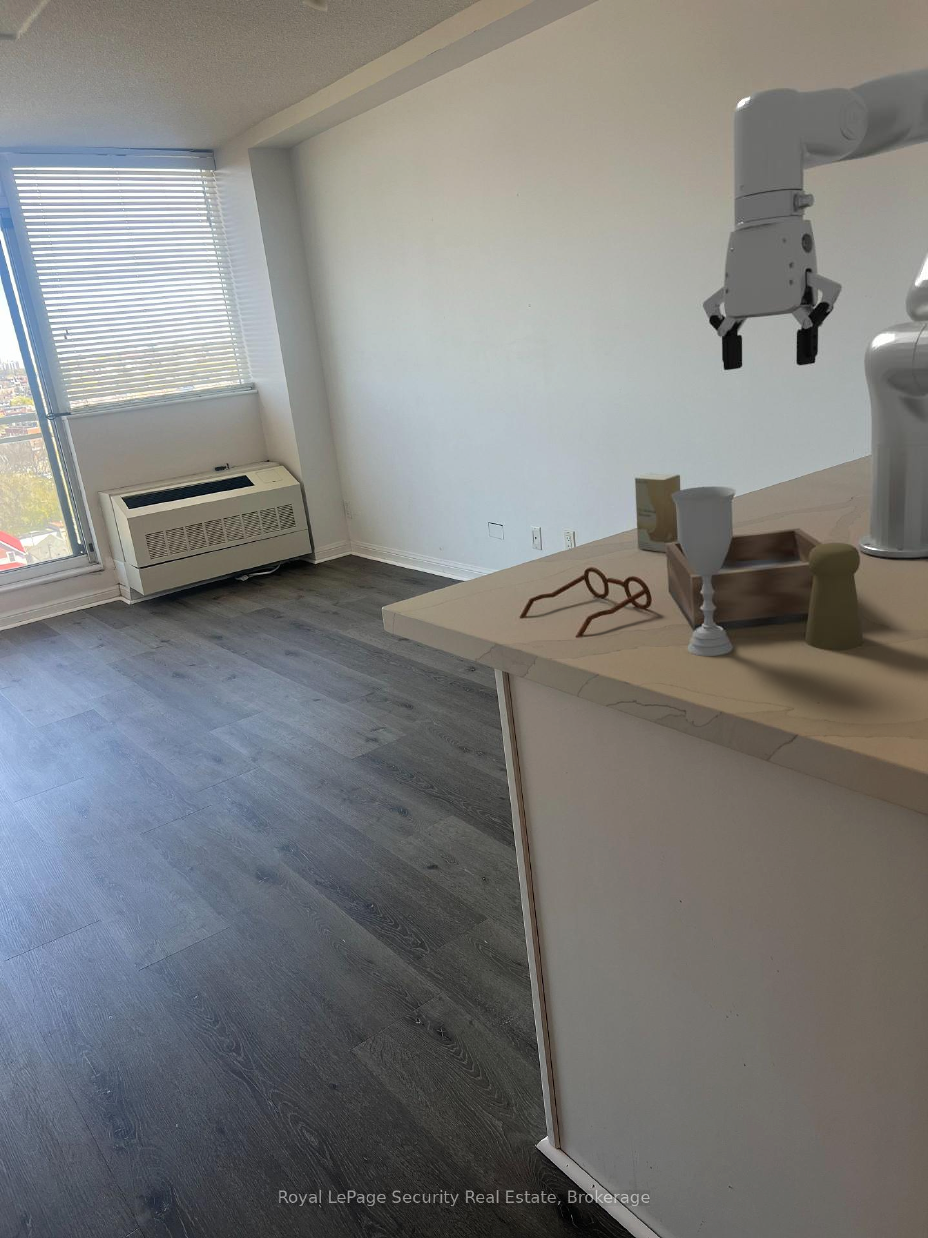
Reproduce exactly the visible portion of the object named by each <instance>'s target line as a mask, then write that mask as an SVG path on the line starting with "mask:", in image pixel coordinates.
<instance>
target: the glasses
mask: <svg viewBox="0 0 928 1238" xmlns="http://www.w3.org/2000/svg"><path fill="white" fill-rule="evenodd" d="M590 572H591V573H594V574H596V575H597V576H598V577H599V578H600V579H601V581H602V584H603V587H604V593H600V592H597V591H596V590H595V589H594V588H593V586H592V584H591V582H590V579H589V578H590V577H589V574H590ZM583 573H584V574H583V575H580V576H579V577H577V578H575V579H573V580H572V581H569V582H568V583H566V584H565V585H563V586H561V587H559V588H557V589H556V590H554V591H553V592H550V593H543V594H542V593H541V594H538V595H536V596H533V597H532V598H529V599H528V601H527V603H526V605H525V607H524V608H523V610H522V612H521V614H520V616H519V617H518V618H519V619H523V618H526V616H527V614H528V613H529V612H530V609H531V608H532V606H533V604H534V602H537V601H539V600H542V599H550V598H555V597H557V596H559V595H560V594H562V593H564V592H565V591H567V590H569V589H571V588H573V587H574V586H576V585H578V584H579V583H581V582H583V581H584V583H585V585H586V588H587V589H588V591H589V592H590V593H591V595H593V596H594V597H596V598H599V599H605V598H606V597H607V598H608V596H609V594H610V588H609V587H610V586H609V584H614V585H618V586H621V587H622V588H623V589H624V593H625V595H626V599H624V600H623V601H621V602H619V603H617V604H616V605H614V606H612V607H611V608H609V609H604V610H599V611H597V612H594V613H592V614H590V615H587V617H586V618H585V620H584V622H583V623H582V626H580V628H579V630H578V632H577V633H576V635H575V638H580V637H582V636H583V635H584V634H585V632H586V630H587V629H588V627H589V626H590V624H591V623H592V620H594V619H597V618H599V617H602V616H607V615H608V616H609V615H612V614H614V613H616V612H618V611H619V610H621V609H623V608H624V607H626V606H628V605H629V604H631V605H632V606H634V607H635V608H637V609H641V610H646V609H648V608H650V607H651V606H652V601H653V600H652V595H651V592H650V589H649V587H648V585H647V583H646V582H645V581H644V580H642V579H641V578H639V577H638V576H633V575H632V576H628V577H626V579H625V580H624V581H623V580H622V579H619V578H618V579H617V578H614V577H608V578H607V577H606V575H605V574H604V573H603V572H602V571H601V570H600V569H598V568H596V567H593V566H592V567H591V566H590V567H588V568H586V569H585V570H584V571H583ZM630 582H635V583H637V584H639V585H640V586H641V588H642V589H640V590H639V591H638V592H636V593H634V594H631V591H630ZM644 595H645V596H646V601H645V603H643V604H642V603H639V602H638V601H637V600H638V599H639V598H642V596H644ZM583 637H584V636H583Z"/></svg>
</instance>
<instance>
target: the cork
mask: <svg viewBox="0 0 928 1238" xmlns="http://www.w3.org/2000/svg"><path fill="white" fill-rule="evenodd" d="M860 562H861V556H860V554H859V551H858V549H857V547H855V546H853V545H852V544H849V543H844V542H827V543H822V544H821V545H818V546H816V547H814V548H813V549H812V550H811V552H810V554H809V568H810V571H811V572H812V573H813V574H814V578H813V586H812V593H811V600H810V607H809V615H808V621H806V622H807V624H806V628H805V629H806V630H805V637H804V640H805V641H804V642H805V643H806V644H807V645H809V646H810V647H813V648H817V649H822V650H835V651H836V650H838V651H840V650H848V649H853V648H856V647H858V646H860V645H862V644H863V642H864V638H863V631H862V630H863V629H862V625H861V617H860V609H859V601H858V595H857V587H856V579H855V574H856V573H857V571H858V570H859V568H860V564H861V563H860Z"/></svg>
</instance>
